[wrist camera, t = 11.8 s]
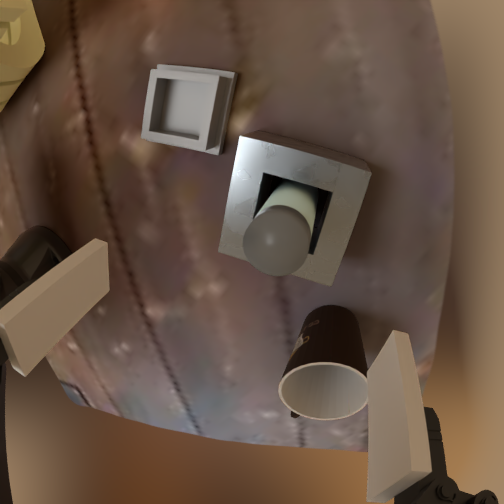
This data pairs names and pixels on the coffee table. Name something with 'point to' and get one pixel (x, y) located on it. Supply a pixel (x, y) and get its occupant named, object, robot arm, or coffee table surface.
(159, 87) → the grey square open tray
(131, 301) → the coffee table surface
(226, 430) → the coffee table surface
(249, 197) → the port block
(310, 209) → the plug
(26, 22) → the slatted curved stool
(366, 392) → the coffee mug
